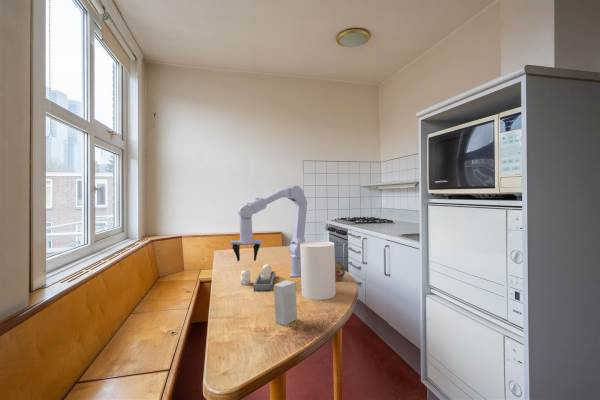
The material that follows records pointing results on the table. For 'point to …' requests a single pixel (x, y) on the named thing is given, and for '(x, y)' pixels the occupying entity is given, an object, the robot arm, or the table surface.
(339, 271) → the tin
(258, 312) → the table surface
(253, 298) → the table surface
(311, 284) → the canister
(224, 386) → the table surface
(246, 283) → the egg
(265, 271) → the egg crate
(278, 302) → the skincare box
